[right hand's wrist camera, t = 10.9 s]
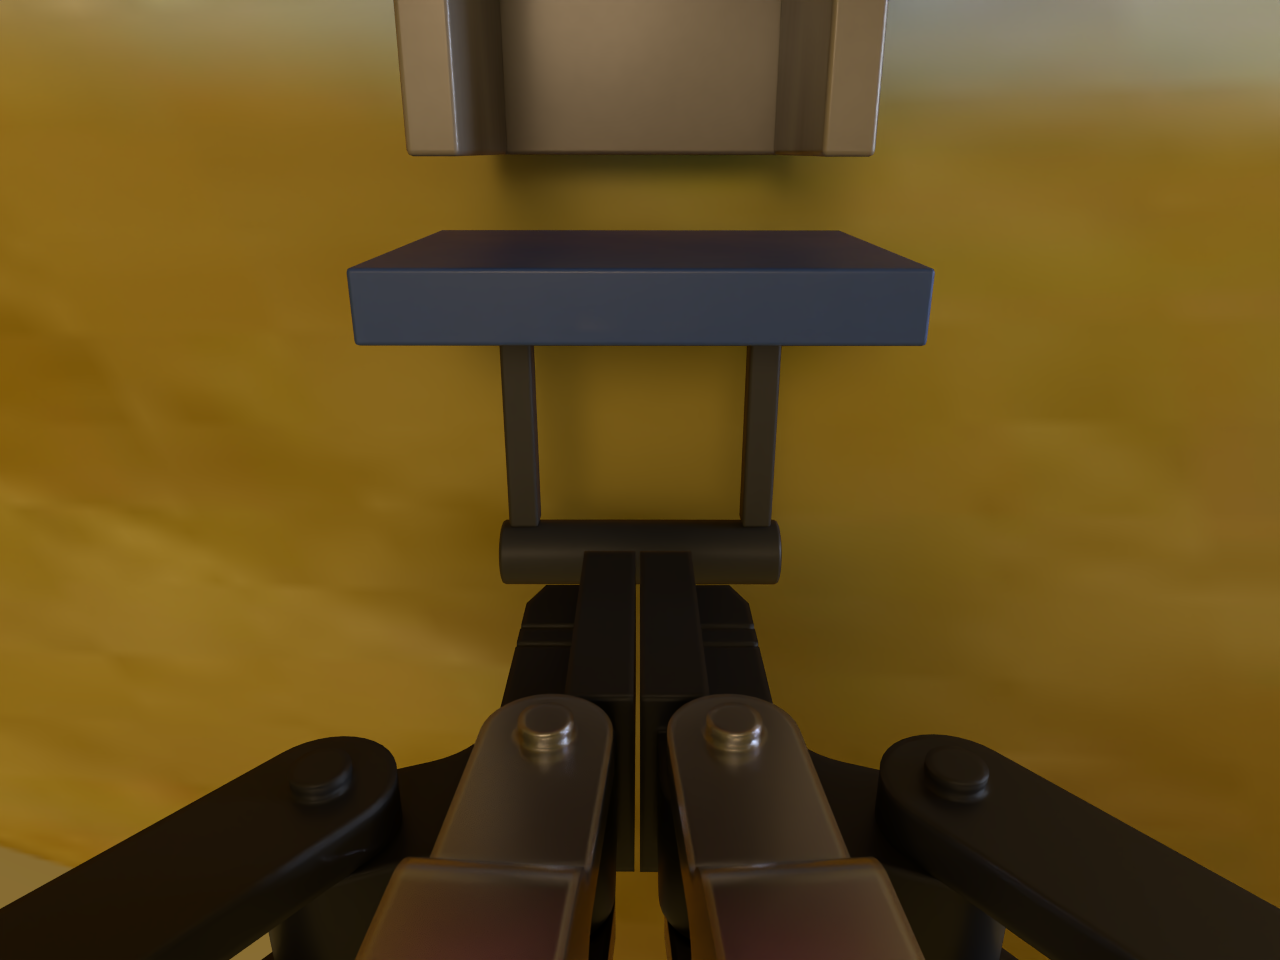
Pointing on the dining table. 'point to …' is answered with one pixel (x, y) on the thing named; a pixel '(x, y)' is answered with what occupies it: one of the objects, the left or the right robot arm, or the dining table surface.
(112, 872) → the right robot arm
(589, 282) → the drawer
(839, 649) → the dining table surface
